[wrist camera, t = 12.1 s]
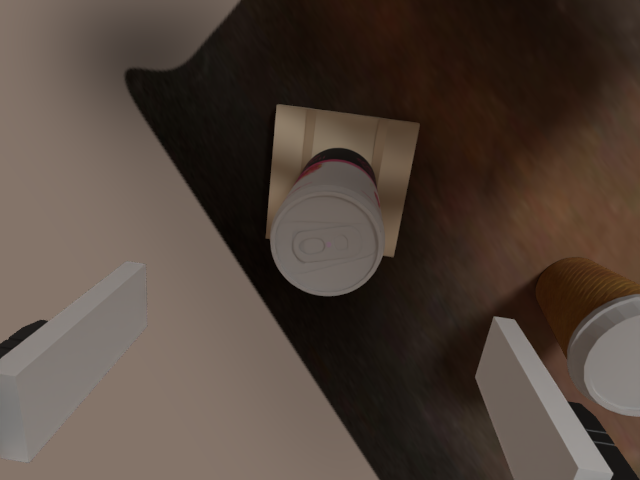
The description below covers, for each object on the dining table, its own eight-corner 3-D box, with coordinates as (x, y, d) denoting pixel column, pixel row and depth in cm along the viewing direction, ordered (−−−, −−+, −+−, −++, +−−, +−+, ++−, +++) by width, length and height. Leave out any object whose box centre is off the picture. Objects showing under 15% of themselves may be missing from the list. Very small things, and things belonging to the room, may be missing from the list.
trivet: (279, 104, 37) (276, 104, 36) (418, 122, 37) (420, 124, 36) (268, 234, 41) (265, 238, 40) (392, 252, 41) (393, 257, 40)
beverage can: (295, 152, 37) (256, 196, 23) (371, 141, 36) (379, 180, 22) (307, 224, 39) (278, 303, 25) (379, 215, 39) (391, 293, 24)
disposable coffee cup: (497, 305, 42) (547, 386, 31) (559, 222, 39) (641, 280, 28) (579, 346, 43) (657, 441, 32) (647, 269, 40) (762, 344, 28)
